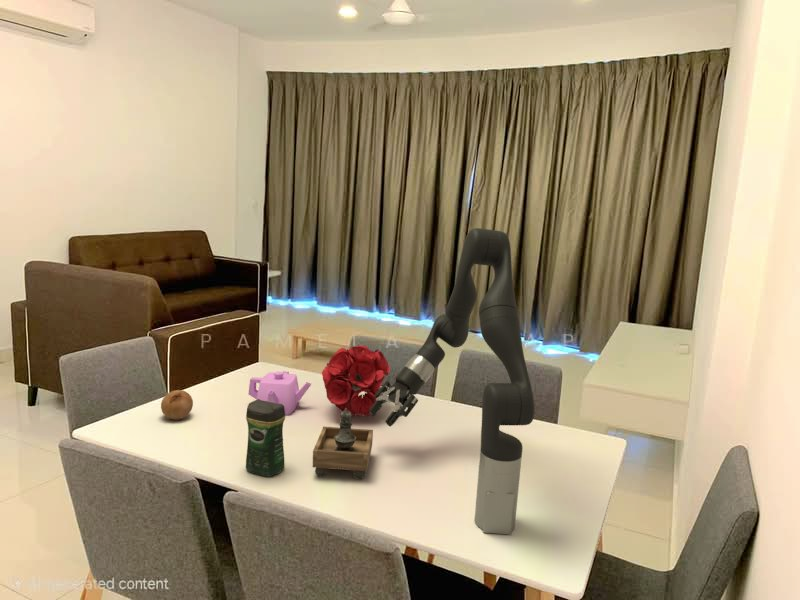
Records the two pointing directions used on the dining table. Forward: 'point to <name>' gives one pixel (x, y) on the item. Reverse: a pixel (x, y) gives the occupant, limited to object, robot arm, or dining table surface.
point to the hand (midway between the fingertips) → (379, 419)
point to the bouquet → (355, 378)
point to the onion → (176, 404)
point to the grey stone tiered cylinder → (345, 433)
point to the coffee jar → (265, 437)
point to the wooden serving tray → (342, 452)
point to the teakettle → (278, 389)
